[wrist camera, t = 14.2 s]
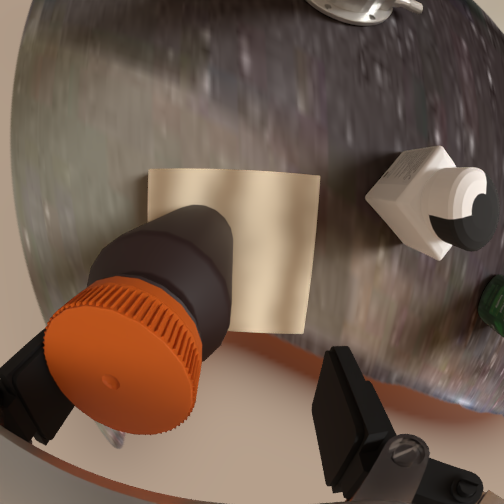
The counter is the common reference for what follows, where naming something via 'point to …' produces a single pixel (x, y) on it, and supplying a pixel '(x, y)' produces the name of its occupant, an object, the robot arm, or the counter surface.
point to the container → (436, 202)
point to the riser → (254, 237)
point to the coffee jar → (493, 304)
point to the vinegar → (146, 322)
